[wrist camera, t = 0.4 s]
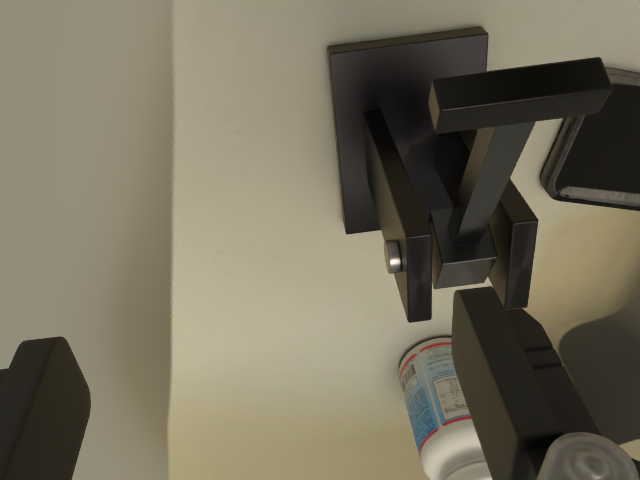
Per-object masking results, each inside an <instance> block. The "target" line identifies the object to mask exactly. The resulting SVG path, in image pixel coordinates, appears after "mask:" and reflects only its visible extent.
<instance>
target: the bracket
mask: <svg viewBox="0 0 640 480" xmlns="http://www.w3.org/2000/svg"><path fill="white" fill-rule="evenodd" d="M487 51H488V33H487V32H486V31H485V30H484V29H483V28H482V27H476V28H469V29H461V30H453V31H445V32H437V33H430V34H422V35H414V36H406V37H398V38H391V39H383V40H375V41H367V42H359V43H351V44H344V45H336V46H328V47H327V53H328V63H329V74H330V84H331V94H332V105H333V115H334V126H335V136H336V147H337V157H338V167H339V178H340V188H341V199H342V209H343V219H344V227H345V232H346V234H354V233H361V232H369V231H377V230H382V234H383V237H384V253H385V261H386V266H387V270H388V273H390V274H392V273H394V275H395V279H396V282H397V286H398V289H399V293H400V296H401V300H402V303H403V307H404V310H405V313H406V317H407V320H408V322H409V323H411V322H419V321H427V320H431V318H432V233H431V230H430V228H429V226H428V219H429V215H430V211H433V210H441V209H448V208H453V206H454V203H455V200H456V197H457V194H458V191H459V188H460V185H461V182H462V178H463V175H464V172H465V169H466V166H467V163H468V160H469V157H470V154H471V151H472V147H473V144H474V141H475V138H476V135H477V132H478V129H473V130H465V131H457V132H449V133H442V134H436V132H435V130H434V125H433V121H432V117H431V113H430V109H429V105H428V102H429V97H430V91H431V86H432V81H433V79H434V78H440V77H448V76H455V75H463V74H471V73H479V72H486V68H487ZM489 225H490V229H491V232H492V236H493V240H494V244H495V247H496V251H497V255H498V258H497V260H496V262H495V264H494V266H493V267H492V269H491V271H490V273H489V275H488V277H489V279H490V282H491V284H492V286H493V288H494V289H495V291H496V293H497V295H498V297H499V299H500V301H501V303H502V305H503V307H504V309H505V310H511V309H518V308H526V307H527V306H528V298H529V290H530V282H531V274H532V266H533V258H534V251H535V242H536V234H537V226H538V219H537V217H536V216H535V214H534V213H533V212H532V210H531V209H530V207H529V206H528V204H527V203H526V201H525V200H524V198H523V197H522V195H521V194H520V193H519V191H518V190H517V188H516V187H515V185H514V184H513V182H512V181H511V179H509V181H508V183H507V185H506V187H505V189H504V192H503V194H502V196H501V198H500V200H499V202H498V205H497V207H496V209H495V211H494V213H493V216H492V218H491V220H490V222H489Z"/></svg>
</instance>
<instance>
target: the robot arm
mask: <svg viewBox="0 0 640 480" xmlns="http://www.w3.org/2000/svg"><path fill="white" fill-rule="evenodd" d="M451 349H452V358H453V363H454V368H455V371H456V375H457V378H458V380H459V383H460V386H461V389H462V392H463V395H464V398H465V401H466V404H467V407H468V410H469V413H470V416H471V419H472V421H473V424H474V427H475V430H476V433H477V436H478V439H479V442H480V445H481V448H482V451H483V454H484V457H485V460H486V462H487V465H488V468H489V471H490V474H491V477H492V480H640V461H637V460H635V459H633V458H631V457H630V456H629V455H628V454H627V453H626V452H625V451H624V450H623V449H622V448H621V447H619V446H618V445H617V444H615V443H614V442H612V441H610V440H609V439H606V438H604V437H603V436H602V435H601V433H600V432H599V431H598V429H597V427H596V425H595V424H594V422H593V420H592V418H591V416H590V414H589V412H588V410H587V409H586V407H585V405H584V403H583V401H582V399H581V397H580V396H579V394H578V392H577V390H576V388H575V386H574V384H573V383H572V381H571V379H570V377H569V375H568V373H567V371H566V370H565V368H564V366H562V364H561V360H560V358H559V356H558V355H557V353H556V351H555V349H553V347H552V343H551V342H550V340H549V338H548V336H547V334H546V332H545V330H544V329H543V327H542V325H541V324H540V323H539V322H538V321H536V320H535V319H534V318H533V317H532V316H530V315H529V314H528V313H527V312H526V311H524V310H523V309H522V308H520V309H511V310H505V309H504V307H503V305H502V303H501V301H500V299H499V297H498V295H497V293H496V291H495V289H494V288H493V287H491V286H489V287H481V288H472V289H464V290H456V291H455V293H454V300H453V319H452V338H451ZM90 408H91V400H90V391H89V388H88V385H87V382H86V380H85V378H84V376H83V374H82V372H81V369H80V367H79V365H78V363H77V361H76V359H75V357H74V355H73V352H72V351H71V348H70V346H69V344H68V342H67V340H66V339H65V338H64V337H53V338H45V339H36V340H27V341H23V342H22V343H21V344H20V345H19V347H18V349H17V351H16V353H15V355H14V358H13V360H12V362H11V364H10V367H9V369H1V370H0V480H72V476H73V472H74V469H75V465H76V462H77V458H78V455H79V451H80V448H81V444H82V441H83V437H84V433H85V430H86V426H87V423H88V419H89V415H90Z"/></svg>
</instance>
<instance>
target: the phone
mask: <svg viewBox="0 0 640 480" xmlns="http://www.w3.org/2000/svg"><path fill="white" fill-rule="evenodd" d="M605 69H606V72H607V74H608V77H609V79H610V81H611V84H612V86H613V89H612V92H611V93H610V95H609V96H608V98H607V100H606V101H605V103H604V105H603V106H602V108H601V110H600V111H599V112H598V113H596V114H589V115H581V116H573V117H566V118H565V120H564V123H563V125H562V127H561V129H560V132H559V134H558V136H557V139H556V141H555V143H554V146H553V148H552V150H551V152H550V155H549V157H548V159H547V162H546V164H545V166H544V168H543V171H542V173H541V177H540V180H541V184H542V186H543V188H544V189H545V190H546V192H547V193H548V194H549V196H550V197H551V198H553V199H554V200H558V201H564V202H572V203H580V204H588V205H596V206H604V207H612V208H620V209H628V210H636V211H640V73H635V72H629V71H623V70H617V69H611V68H605Z"/></svg>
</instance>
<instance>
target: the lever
mask: <svg viewBox="0 0 640 480" xmlns="http://www.w3.org/2000/svg"><path fill="white" fill-rule="evenodd" d="M612 89H613V86H612V84H611V81H610V79H609V77H608V74H607V72H606V69H605V67H604V64H603V62H602V59H601V58H600V57H595V58H588V59H580V60H572V61H564V62H556V63H549V64H541V65H533V66H525V67H518V68H510V69H502V70H494V71H486V72H479V73H471V74H463V75H455V76H448V77H440V78H434V79H433V81H432V86H431V91H430V97H429V102H428V105H429V109H430V113H431V117H432V121H433V125H434V130H435V132H436V134H442V133H449V132H457V131H465V130H473V129H478V132H477V135H476V138H475V141H474V144H473V147H472V151H471V154H470V157H469V160H468V163H467V166H466V169H465V172H464V175H463V178H462V182H461V185H460V188H459V191H458V194H457V197H456V200H455V203H454V206H453V208H448V209H441V210H433V211H430V215H429V219H428V226H429V228H430V230H431V233H432V283H433V288H434V289H440V288H447V287H455V286H463V285H470V284H478V283H484V282H485V280H486V278H487V276H488V275H489V273H490V271H491V269H492V267H493V266H494V264H495V262H496V260H497V258H498V255H497V251H496V247H495V244H494V240H493V236H492V232H491V229H490V225H489V222H490V220H491V218H492V216H493V213H494V211H495V209H496V207H497V205H498V202H499V200H500V198H501V196H502V194H503V192H504V189H505V187H506V185H507V183H508V181H509V179H510V176H511V174H512V172H513V170H514V168H515V166H516V163H517V161H518V159H519V157H520V155H521V152H522V150H523V148H524V146H525V144H526V142H527V139H528V137H529V135H530V133H531V131H532V129H533V126H534V124H535V122H536V121H542V120H550V119H558V118H566V117H573V116H581V115H589V114H596V113H598V112H599V111H600V110H601V108H602V106H603V105H604V103H605V101H606V100H607V98H608V96H609V95H610V93H611V92H612Z"/></svg>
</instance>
